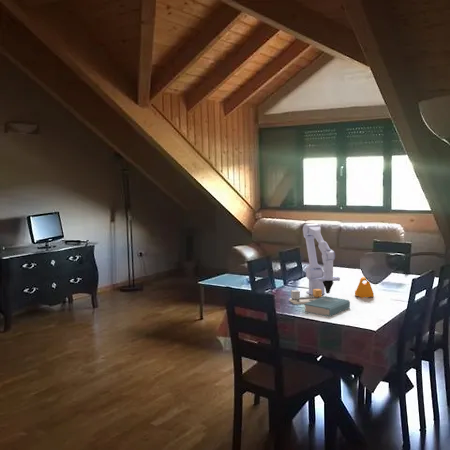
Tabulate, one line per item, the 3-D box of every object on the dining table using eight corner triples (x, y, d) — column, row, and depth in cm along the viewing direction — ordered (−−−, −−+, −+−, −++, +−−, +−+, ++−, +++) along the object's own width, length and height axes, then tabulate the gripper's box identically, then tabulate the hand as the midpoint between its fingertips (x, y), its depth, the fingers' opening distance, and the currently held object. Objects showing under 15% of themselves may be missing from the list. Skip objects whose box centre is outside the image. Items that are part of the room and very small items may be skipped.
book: (324, 304, 323) (324, 296, 322) (349, 308, 313) (349, 300, 312) (304, 312, 306) (304, 303, 305) (330, 317, 295) (330, 308, 295)
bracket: (372, 295, 344) (373, 276, 343) (373, 298, 337) (374, 278, 335) (354, 294, 346) (355, 275, 345) (355, 297, 339) (355, 278, 337)
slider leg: (319, 296, 334) (319, 288, 334) (323, 299, 327) (323, 291, 327) (312, 296, 333) (312, 289, 333) (317, 299, 326) (317, 291, 326)
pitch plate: (323, 298, 335) (323, 288, 335) (329, 302, 327) (329, 291, 326) (289, 300, 330) (289, 290, 330) (294, 304, 322) (294, 293, 321)
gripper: (319, 272, 326) (319, 295, 327) (342, 271, 329) (341, 293, 331) (314, 270, 333) (314, 292, 334) (337, 269, 336) (336, 291, 338)
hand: (327, 292), depth 333 cm, fingers closed
